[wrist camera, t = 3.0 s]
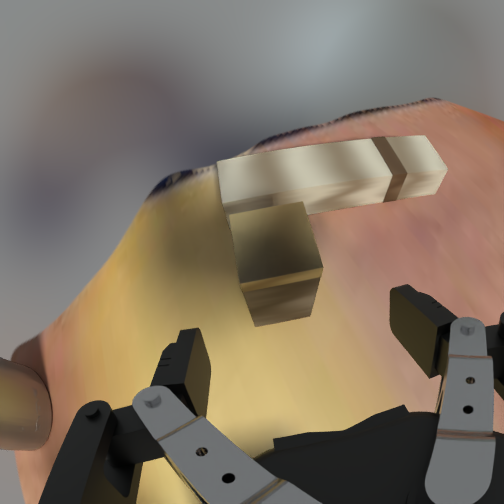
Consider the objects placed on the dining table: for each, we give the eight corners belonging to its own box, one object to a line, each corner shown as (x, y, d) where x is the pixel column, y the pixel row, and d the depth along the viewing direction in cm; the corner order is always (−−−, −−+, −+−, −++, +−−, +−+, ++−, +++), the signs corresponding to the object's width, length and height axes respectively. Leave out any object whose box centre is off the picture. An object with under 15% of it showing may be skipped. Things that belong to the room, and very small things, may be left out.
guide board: (229, 229, 28) (222, 202, 25) (223, 188, 31) (216, 160, 27) (435, 194, 28) (448, 168, 24) (414, 160, 30) (424, 134, 27)
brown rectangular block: (255, 327, 24) (239, 284, 16) (246, 276, 26) (228, 214, 18) (310, 316, 24) (323, 267, 16) (298, 266, 26) (302, 201, 18)
